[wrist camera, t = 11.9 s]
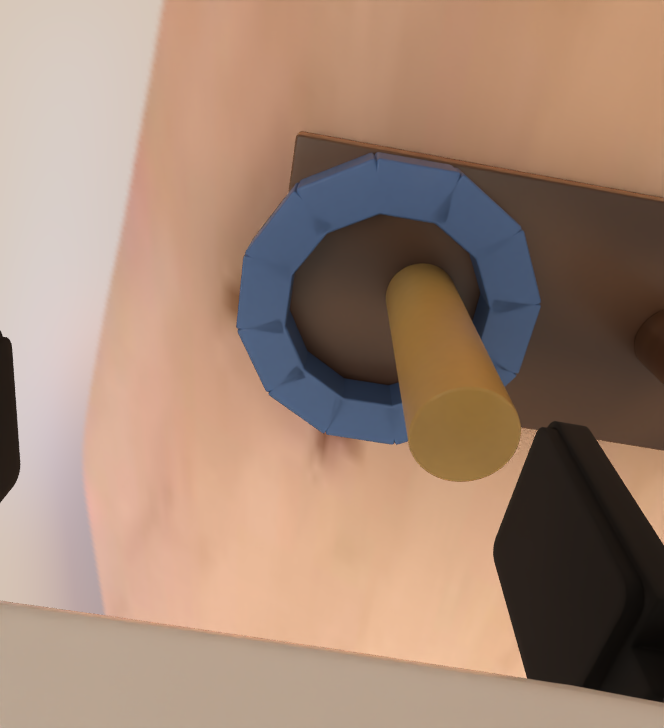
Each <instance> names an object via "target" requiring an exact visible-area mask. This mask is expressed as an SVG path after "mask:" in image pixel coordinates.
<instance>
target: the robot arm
mask: <svg viewBox="0 0 664 728" xmlns="http://www.w3.org/2000/svg"><path fill="white" fill-rule="evenodd" d="M19 472H20V453H19V439H18V425H17V411H16V397H15V383H14V368H13V355H12V345H11V342H10V340H9V339H8V338H7V337H3V336H2V333H1V331H0V502H1V501H2V500H3V499H4V497H5V496H6V495H7V494H8V492H9V491H10V490H11V489H12V487H13V486H14V484H15V483H16V481H17V478H18V475H19ZM493 556H494V562H495V566H496V569H497V573H498V576H499V580H500V583H501V587H502V590H503V594H504V598H505V601H506V605H507V608H508V612H509V615H510V619H511V622H512V626H513V630H514V633H515V637H516V640H517V644H518V647H519V651H520V654H521V658H522V662H523V665H524V669H525V672H526V676H527V679H526V678H520V677H513V676H507V675H501V674H495V673H488V672H482V671H475V670H468V669H462V668H455V667H449V666H442V665H436V664H429V663H422V662H416V661H409V660H403V659H396V658H390V657H383V656H376V655H370V654H363V653H357V652H350V651H344V650H337V649H331V648H324V647H317V646H310V645H304V644H297V643H290V642H283V641H276V640H270V639H263V638H256V637H249V636H243V635H236V634H229V633H222V632H215V631H209V630H202V629H195V628H188V627H181V626H174V625H167V624H160V623H153V622H147V621H140V620H133V619H126V618H119V617H112V616H105V615H98V614H91V613H83V612H77V611H70V610H63V609H55V608H48V607H41V606H34V605H27V604H19V603H13V602H6V601H0V728H664V545H663V543H662V542H661V540H660V539H659V537H658V536H657V534H656V533H655V531H654V529H653V528H652V526H651V525H650V523H649V522H648V520H647V518H646V517H645V515H644V514H643V512H642V511H641V509H640V508H639V506H638V504H637V503H636V501H635V500H634V498H633V497H632V495H631V493H630V492H629V490H628V489H627V487H626V486H625V484H624V483H623V481H622V479H621V478H620V476H619V475H618V473H617V472H616V470H615V468H614V467H613V465H612V464H611V462H610V461H609V459H608V458H607V456H606V454H605V453H604V451H603V450H602V448H601V447H600V445H599V444H598V442H597V440H596V439H595V437H594V436H593V434H592V433H591V431H590V429H589V428H588V427H587V426H582V425H576V424H570V423H564V422H558V421H553V422H551V423H550V424H549V425H548V427H547V428H546V427H541V428H539V430H538V431H537V433H536V435H535V438H534V440H533V443H532V445H531V448H530V450H529V453H528V456H527V458H526V461H525V463H524V466H523V469H522V471H521V474H520V476H519V479H518V482H517V484H516V487H515V489H514V492H513V495H512V497H511V500H510V502H509V505H508V507H507V510H506V513H505V515H504V518H503V520H502V523H501V526H500V528H499V531H498V533H497V536H496V539H495V542H494V549H493Z"/></svg>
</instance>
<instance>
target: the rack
mask: <svg viewBox="0 0 664 728" xmlns="http://www.w3.org/2000/svg"><path fill="white" fill-rule="evenodd" d="M377 152H381V153H387V154H392V155H398V156H404V157H409V158H415V159H421V160H426V161H432V162H438V163H443V164H449V165H452V166H453V167H454V168H458V169H459V170H460V171H461V172H463V173H464V174H465V175H466V176H467V177H468V178H469V179H470V180H471V181H472V182H474V183H475V184H476V185H477V186H478V187H479V188H480V189H481V190H482V191H483V192H484V193H485V194H487V195H488V196H489V197H490V198H491V199H492V200H493V201H494V202H495V203H496V204H497V205H499V206H500V207H501V208H502V209H503V210H504V211H505V212H506V213H507V214H508V215H509V216H510V217H512V218H513V219H514V220H515V221H516V222H517V223H518V224H519V225H520V226H521V229H522V230H523V231H524V233H525V237H526V241H527V245H528V249H529V253H530V258H531V262H532V266H533V270H534V274H535V278H536V282H537V286H538V291H539V295H540V299H541V303H539V304H540V305H541V308H540V311H539V314H538V317H537V320H536V323H535V326H534V329H533V332H532V335H531V338H530V341H529V344H528V347H527V350H526V353H525V356H524V359H523V362H522V365H521V367H520V370H519V373H516V377H515V378H514V379H513V380H512V381H511V382H510V383H508V384H507V385H506V386H505V387H504V385H503V383H502V381H501V379H500V377H499V375H498V373H497V371H496V369H495V367H494V365H493V363H492V361H491V358H490V356H489V354H488V352H487V350H486V348H485V346H484V344H483V342H482V340H481V338H480V336H479V334H478V332H477V330H476V328H475V326H474V324H473V322H472V321H473V317H474V314H475V310H476V307H477V303H478V300H479V296H480V289H479V286H478V282H477V279H476V275H475V272H474V268H473V265H472V261H471V258H470V254H469V253H468V252H467V251H466V250H465V249H463V248H462V247H461V246H460V245H459V244H458V243H457V242H455V241H454V240H453V239H452V238H451V237H450V236H449V235H447V234H446V233H445V232H444V231H443V230H442V229H441V228H439V227H438V226H437V225H436V224H434V223H428V222H422V221H417V220H411V219H405V218H399V217H393V216H387V215H382V214H379V215H376V216H373V217H371V218H368V219H365V220H363V221H360V222H357V223H355V224H352V225H349V226H346V227H344V228H341V229H338V230H336V231H333V232H330V233H327V234H326V236H325V237H324V238H323V239H322V240H321V242H320V243H319V244H318V245H317V246H316V248H315V249H314V250H313V251H312V253H311V254H310V255H309V256H308V257H307V259H306V260H305V261H304V262H303V263H302V265H301V266H300V267H299V268H298V270H297V271H296V272H295V275H294V282H293V289H292V296H291V303H290V312H291V314H292V316H293V319H294V321H295V323H296V326H297V328H298V330H299V333H300V335H301V337H302V339H303V342H304V344H305V346H306V349H307V351H308V352H310V353H311V354H312V355H314V356H315V357H316V358H318V359H319V360H320V361H322V362H323V363H324V364H326V365H327V366H328V367H330V368H331V369H332V370H334V371H335V372H336V373H338V374H339V375H340V376H342V377H343V378H346V379H352V380H358V381H364V382H371V383H377V384H383V385H392V384H395V383H398V382H399V387H400V393H401V399H402V406H403V412H404V418H405V424H406V431H407V437H408V443H409V447H410V451H411V453H412V455H413V457H414V459H415V460H416V462H417V463H418V464H419V465H420V466H421V467H422V468H423V469H425V470H426V471H427V472H429V473H430V474H432V475H434V476H436V477H438V478H441V479H444V480H449V481H456V482H465V481H473V480H477V479H481V478H484V477H486V476H489V475H491V474H493V473H494V472H496V471H498V470H499V469H500V468H502V467H503V466H504V465H505V464H506V463H507V462H508V461H509V460H510V459H511V457H512V456H513V454H514V453H515V451H516V449H517V447H518V444H519V440H520V436H521V427H522V428H528V429H534V430H539V428H541V427H546V428H547V427H548V425H549V424H550V423H551V422H553V421H558V422H564V423H570V424H576V425H582V426H587V427H588V428H589V429H590V431H591V433H592V434H593V436H594V437H595V439H596V440H602V441H608V442H614V443H621V444H627V445H633V446H639V447H645V448H651V449H657V450H664V198H661V197H655V196H650V195H644V194H639V193H634V192H628V191H623V190H617V189H612V188H606V187H601V186H596V185H590V184H585V183H579V182H574V181H569V180H563V179H558V178H552V177H547V176H541V175H536V174H531V173H525V172H520V171H514V170H509V169H503V168H498V167H493V166H487V165H482V164H476V163H471V162H465V161H460V160H455V159H449V158H444V157H438V156H433V155H427V154H422V153H417V152H411V151H406V150H400V149H395V148H390V147H384V146H379V145H373V144H368V143H362V142H357V141H352V140H346V139H341V138H335V137H330V136H324V135H319V134H314V133H308V132H303V131H301V132H299V133H298V135H297V136H296V141H295V149H294V156H293V163H292V171H291V178H290V185H289V192H290V191H291V189H292V188H293V187H294V185H295V184H296V183H300V181H301V180H302V179H304V178H307V177H310V176H312V175H315V174H317V173H320V172H322V171H325V170H328V169H330V168H333V167H335V166H338V165H340V164H343V163H346V162H348V161H351V160H353V159H356V158H358V157H361V156H364V155H366V154H369V153H373V154H374V156H375V154H376V153H377Z"/></svg>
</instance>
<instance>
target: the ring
mask: <svg viewBox="0 0 664 728" xmlns="http://www.w3.org/2000/svg"><path fill="white" fill-rule="evenodd" d="M379 214H382V215H387V216H393V217H399V218H405V219H411V220H417V221H422V222H428V223H434V224H436V225H437V226H438V227H439V228H441V229H442V230H443V231H444V232H445V233H446V234H447V235H449V236H450V237H451V238H452V239H453V240H454V241H455V242H457V243H458V244H459V245H460V246H461V247H462V248H463V249H465V250H466V251H467V252H468V253H469V254H470V258H471V261H472V265H473V268H474V272H475V275H476V279H477V282H478V286H479V289H480V296H479V300H478V303H477V307H476V310H475V314H474V317H473V321H472V322H473V324H474V326H475V328H476V330H477V332H478V334H479V336H480V338H481V340H482V342H483V344H484V346H485V348H486V350H487V352H488V354H489V356H490V358H491V361H492V363H493V365H494V367H495V369H496V371H497V373H498V375H499V377H500V379H501V381H502V383H503V385H504V387H505V386H506V385H507V384H508V383H510V382H511V381H512V380H513V379H514V378H515V377H516V373H519V370H520V367H521V365H522V362H523V359H524V356H525V353H526V350H527V347H528V344H529V341H530V338H531V335H532V332H533V329H534V326H535V323H536V320H537V317H538V314H539V311H540V308H541V305H540V304H539V303H541V299H540V295H539V291H538V286H537V282H536V278H535V274H534V270H533V266H532V262H531V258H530V253H529V249H528V245H527V241H526V237H525V233H524V231H523V230H522V229H521V226H520V225H519V224H518V223H517V222H516V221H515V220H514V219H513V218H512V217H510V216H509V215H508V214H507V213H506V212H505V211H504V210H503V209H502V208H501V207H500V206H499V205H497V204H496V203H495V202H494V201H493V200H492V199H491V198H490V197H489V196H488V195H487V194H485V193H484V192H483V191H482V190H481V189H480V188H479V187H478V186H477V185H476V184H475V183H474V182H472V181H471V180H470V179H469V178H468V177H467V176H466V175H465V174H464V173H463V172H461V171H460V170H459V169H458V168H454V167H453V166H452V165H449V164H443V163H438V162H432V161H426V160H421V159H415V158H409V157H404V156H398V155H392V154H387V153H381V152H377V153H376V154H375V156H374V154H373V153H369V154H366V155H364V156H361V157H358V158H356V159H353V160H351V161H348V162H346V163H343V164H340V165H338V166H335V167H333V168H330V169H328V170H325V171H322V172H320V173H317V174H315V175H312V176H310V177H307V178H304V179H302V180H301V181H300V183H296V184H295V185H294V187H293V188H292V189H291V191H290V192H289V193H288V194H287V196H286V197H285V198H284V200H283V201H282V202H281V203H280V205H279V206H278V207H277V209H276V210H275V211H274V213H273V214H272V215H271V216H270V218H269V219H268V220H267V222H266V223H265V224H264V225H263V227H262V228H261V229H260V231H259V232H258V233H257V235H256V236H255V237H254V238H253V240H252V241H251V243H250V245H249V247H248V248H247V250H246V252H245V255H244V257H243V267H242V276H241V286H240V296H239V306H238V315H237V325H236V327H237V328H238V334H239V336H240V338H241V340H242V342H243V344H244V346H245V348H246V350H247V352H248V354H249V357H250V359H251V361H252V363H253V365H254V367H255V369H256V371H257V373H258V375H259V377H260V380H261V382H262V384H263V386H264V388H265V390H266V391H267V392H269V395H270V396H271V397H272V398H274V399H275V400H277V401H278V402H280V403H281V404H282V405H284V406H285V407H287V408H288V409H289V410H291V411H292V412H294V413H295V414H296V415H298V416H299V417H301V418H302V419H304V420H305V421H306V422H308V423H309V424H311V425H312V426H313V427H315V428H316V429H318V430H319V431H320V432H322V433H324V432H325V431H326V434H327V435H333V436H340V437H346V438H353V439H359V440H366V441H372V442H379V443H385V444H394V442H395V444H396V445H397V444H401V443H404V442H407V441H408V437H407V431H406V424H405V418H404V412H403V406H402V399H401V393H400V387H399V382H398V383H395V384H392V385H383V384H377V383H371V382H364V381H358V380H352V379H346V378H343V377H342V376H340V375H339V374H338V373H336V372H335V371H334V370H332V369H331V368H330V367H328V366H327V365H326V364H324V363H323V362H322V361H320V360H319V359H318V358H316V357H315V356H314V355H312V354H311V353H310V352H308V351H307V349H306V346H305V344H304V342H303V339H302V337H301V335H300V333H299V330H298V328H297V326H296V323H295V321H294V319H293V316H292V314H291V312H290V303H291V296H292V289H293V282H294V275H295V272H296V271H297V270H298V268H299V267H300V266H301V265H302V263H303V262H304V261H305V260H306V259H307V257H308V256H309V255H310V254H311V253H312V251H313V250H314V249H315V248H316V246H317V245H318V244H319V243H320V242H321V240H322V239H323V238H324V237H325V236H326V234H327V233H330V232H333V231H336V230H338V229H341V228H344V227H346V226H349V225H352V224H355V223H357V222H360V221H363V220H365V219H368V218H371V217H373V216H376V215H379Z"/></svg>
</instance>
